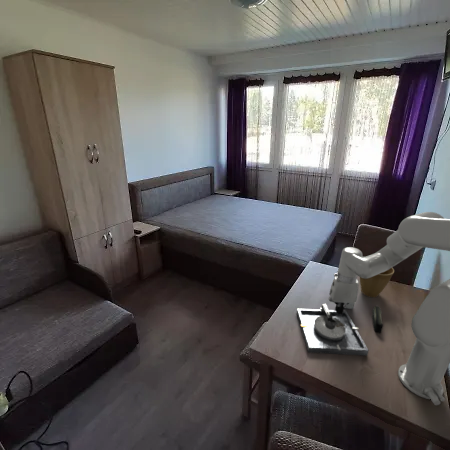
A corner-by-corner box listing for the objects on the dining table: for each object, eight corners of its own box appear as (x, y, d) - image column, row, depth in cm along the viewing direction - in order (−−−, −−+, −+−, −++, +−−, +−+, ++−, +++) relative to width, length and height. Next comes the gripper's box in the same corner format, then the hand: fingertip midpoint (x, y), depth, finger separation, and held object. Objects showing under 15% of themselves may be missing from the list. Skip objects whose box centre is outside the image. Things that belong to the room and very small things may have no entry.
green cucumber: (384, 325, 108) (380, 303, 121) (376, 323, 109) (372, 301, 122) (381, 334, 110) (377, 311, 123) (373, 332, 111) (370, 310, 124)
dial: (349, 341, 104) (352, 330, 102) (318, 339, 104) (320, 328, 102) (335, 314, 118) (338, 304, 116) (308, 313, 119) (310, 303, 117)
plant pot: (349, 284, 143) (355, 258, 137) (376, 285, 143) (384, 259, 137) (361, 301, 129) (368, 273, 123) (392, 303, 129) (400, 275, 123)
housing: (369, 357, 99) (371, 351, 98) (306, 353, 100) (307, 347, 99) (346, 314, 121) (347, 309, 120) (294, 311, 121) (295, 306, 120)
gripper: (331, 280, 105) (324, 317, 112) (369, 282, 105) (359, 319, 112) (325, 270, 112) (319, 305, 119) (361, 272, 112) (352, 307, 119)
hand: (338, 312), depth 115 cm, fingers closed
